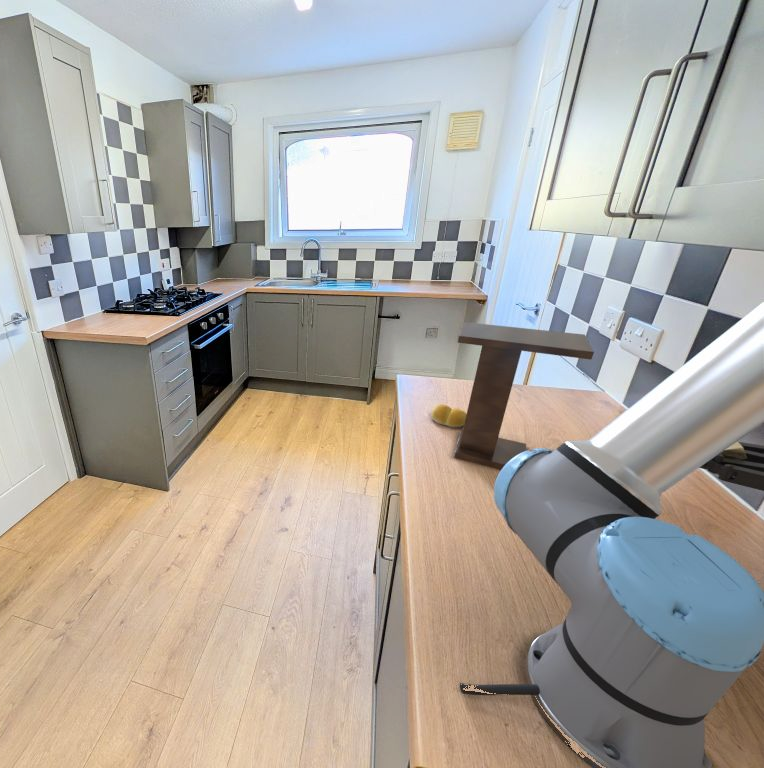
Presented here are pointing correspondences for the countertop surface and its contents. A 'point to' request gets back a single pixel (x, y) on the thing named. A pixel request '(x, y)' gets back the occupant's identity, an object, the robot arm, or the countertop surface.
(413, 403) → the countertop surface
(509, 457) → the shelf stand
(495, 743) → the countertop surface
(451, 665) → the countertop surface
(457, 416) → the bread roll
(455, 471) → the countertop surface
